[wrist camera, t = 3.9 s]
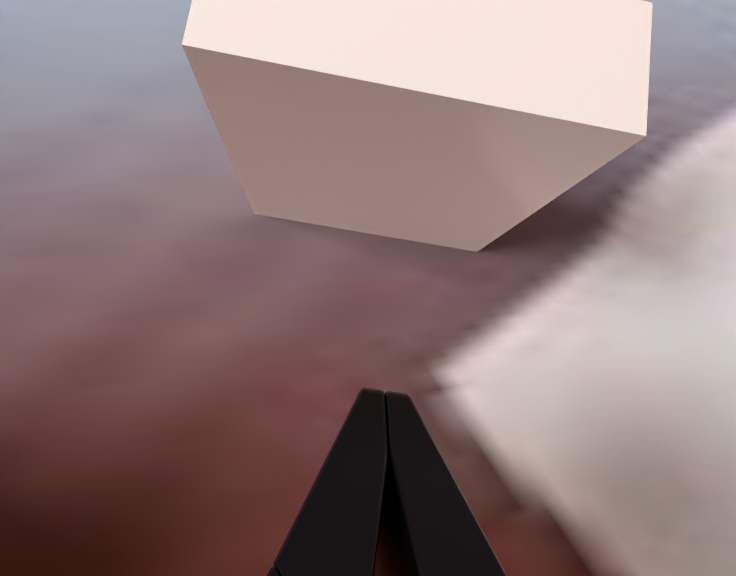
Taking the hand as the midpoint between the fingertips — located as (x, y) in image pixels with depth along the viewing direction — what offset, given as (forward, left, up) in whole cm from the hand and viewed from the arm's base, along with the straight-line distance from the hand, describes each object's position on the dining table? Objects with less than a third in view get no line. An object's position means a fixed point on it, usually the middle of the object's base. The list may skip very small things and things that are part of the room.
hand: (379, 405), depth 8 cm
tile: (+5, -5, -10) cm, 12 cm away
